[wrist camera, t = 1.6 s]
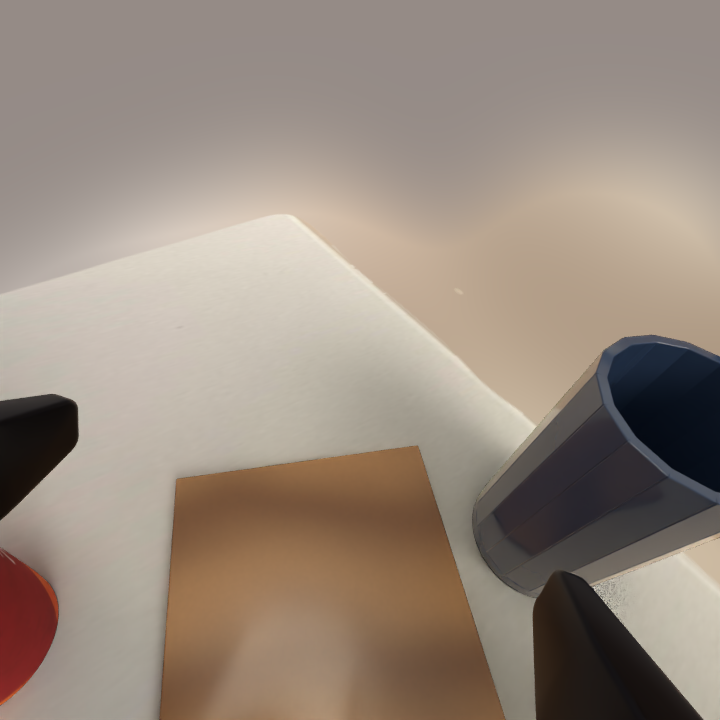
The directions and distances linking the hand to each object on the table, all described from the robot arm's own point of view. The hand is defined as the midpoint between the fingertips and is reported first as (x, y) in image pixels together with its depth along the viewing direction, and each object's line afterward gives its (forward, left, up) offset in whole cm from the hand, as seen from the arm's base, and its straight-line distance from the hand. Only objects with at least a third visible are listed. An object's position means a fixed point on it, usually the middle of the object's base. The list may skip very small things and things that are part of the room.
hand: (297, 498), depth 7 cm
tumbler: (+2, -13, -16) cm, 21 cm away
